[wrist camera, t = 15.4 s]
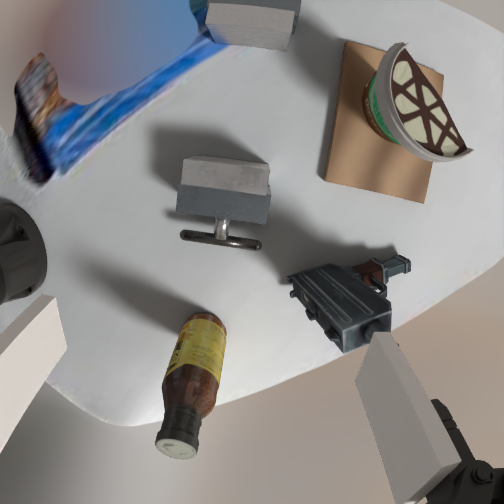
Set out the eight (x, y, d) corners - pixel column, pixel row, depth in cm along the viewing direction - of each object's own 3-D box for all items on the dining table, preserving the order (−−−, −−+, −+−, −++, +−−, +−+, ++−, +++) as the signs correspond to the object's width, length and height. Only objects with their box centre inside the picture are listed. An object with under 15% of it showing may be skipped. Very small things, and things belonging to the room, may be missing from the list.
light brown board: (323, 180, 34) (325, 181, 33) (344, 43, 29) (347, 40, 27) (419, 201, 35) (423, 203, 34) (439, 76, 29) (443, 75, 28)
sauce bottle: (183, 308, 41) (136, 421, 22) (229, 313, 41) (207, 434, 22) (184, 345, 43) (147, 457, 25) (226, 351, 43) (208, 468, 25)
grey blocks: (185, 231, 37) (169, 251, 31) (218, 5, 27) (209, -21, 21) (261, 242, 37) (260, 265, 31) (297, 13, 27) (304, -11, 21)
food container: (328, 88, 30) (354, 69, 20) (368, 61, 28) (404, 37, 19) (392, 176, 33) (434, 191, 23) (427, 148, 31) (476, 155, 22)
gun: (475, 316, 25) (355, 381, 22) (387, 263, 40) (288, 296, 38) (479, 293, 24) (354, 356, 22) (387, 245, 39) (285, 277, 37)
